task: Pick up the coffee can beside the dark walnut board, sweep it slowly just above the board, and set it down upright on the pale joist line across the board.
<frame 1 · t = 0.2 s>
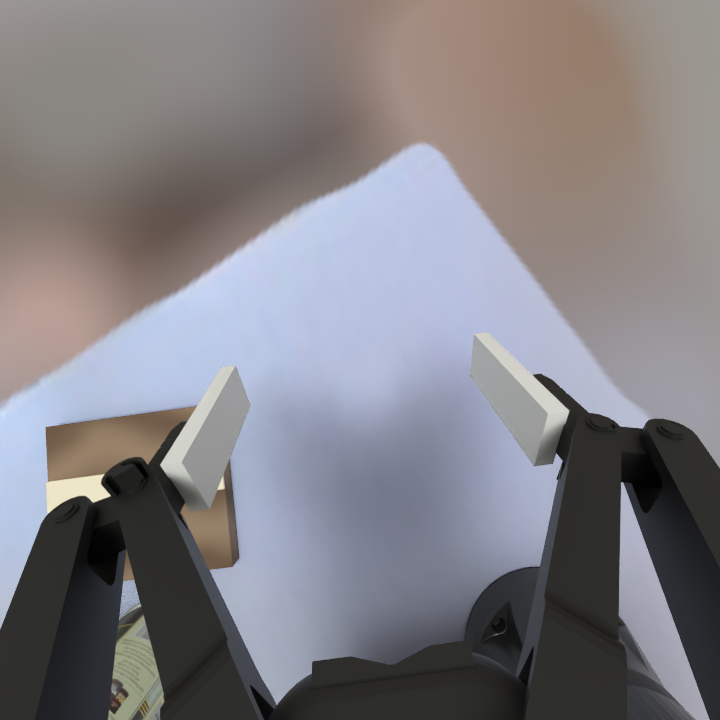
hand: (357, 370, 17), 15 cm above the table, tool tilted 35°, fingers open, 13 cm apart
joist line: (146, 480, 32), resting on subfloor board
coffee can: (160, 649, 31), on the table
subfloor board: (147, 489, 32), on the table
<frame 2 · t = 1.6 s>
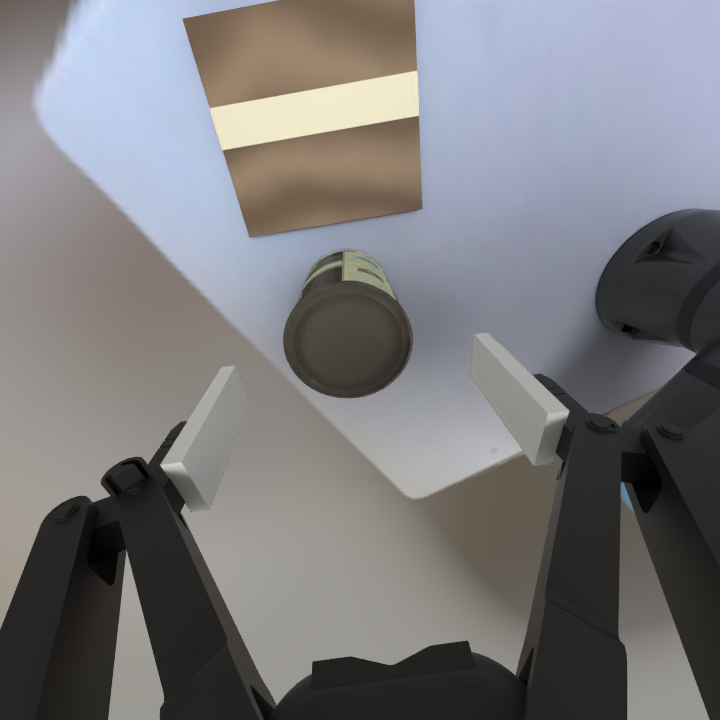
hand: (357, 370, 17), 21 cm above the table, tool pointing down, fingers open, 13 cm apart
joist line: (317, 116, 28), resting on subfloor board
coffee can: (347, 293, 36), on the table
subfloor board: (319, 129, 28), on the table
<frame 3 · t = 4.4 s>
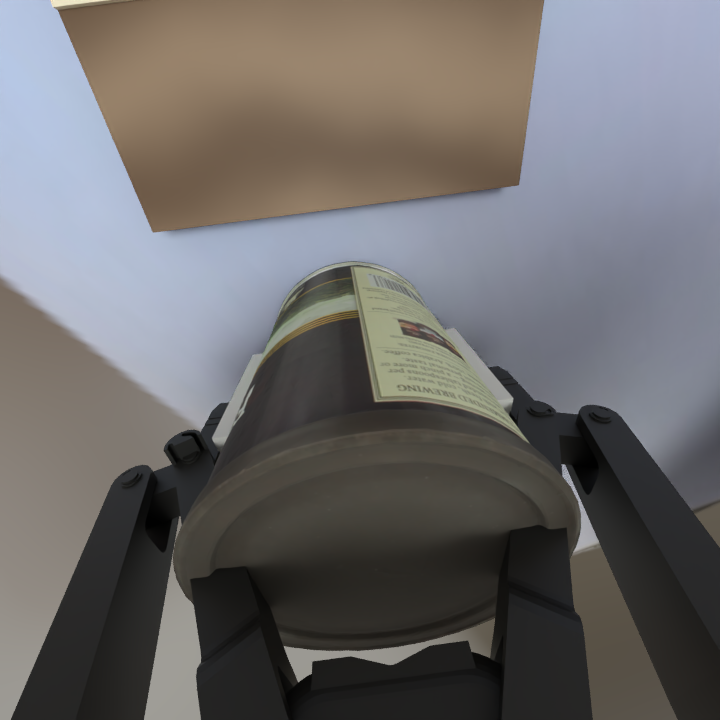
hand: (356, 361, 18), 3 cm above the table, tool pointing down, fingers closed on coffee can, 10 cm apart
coffee can: (354, 339, 20), on the table, touching gripper
when the fingers open (5 cm above the table, at t = 11.4 s): coffee can stays where it is, resting on joist line.
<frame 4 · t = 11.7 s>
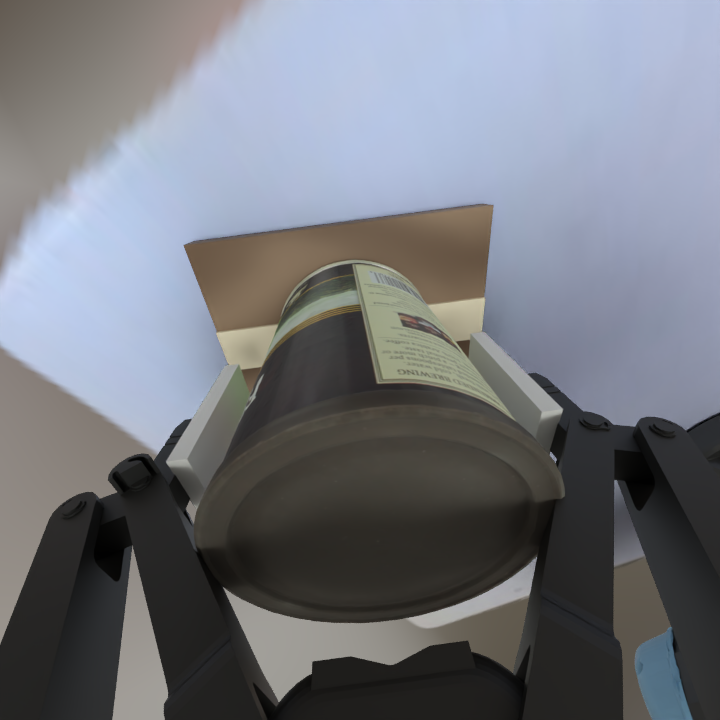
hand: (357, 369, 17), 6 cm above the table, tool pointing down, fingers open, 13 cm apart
joist line: (352, 325, 22), resting on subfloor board
coffee can: (355, 334, 21), point 1 cm above the table, touching joist line
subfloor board: (354, 337, 23), on the table
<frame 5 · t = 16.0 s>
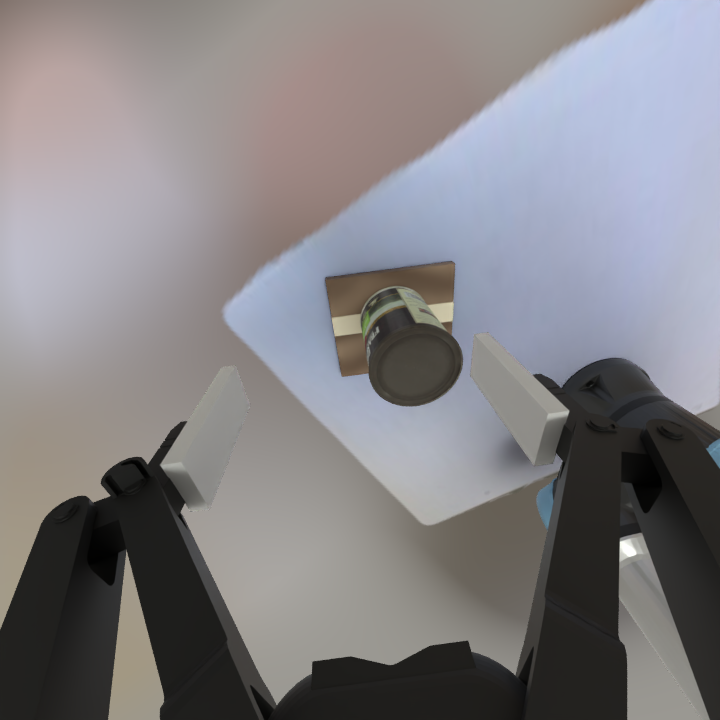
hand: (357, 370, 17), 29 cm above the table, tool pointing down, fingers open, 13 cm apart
joist line: (391, 315, 46), resting on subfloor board
coffee can: (394, 319, 45), point 1 cm above the table, touching joist line
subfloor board: (391, 321, 47), on the table
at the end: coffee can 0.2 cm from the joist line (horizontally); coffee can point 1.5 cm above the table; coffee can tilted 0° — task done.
